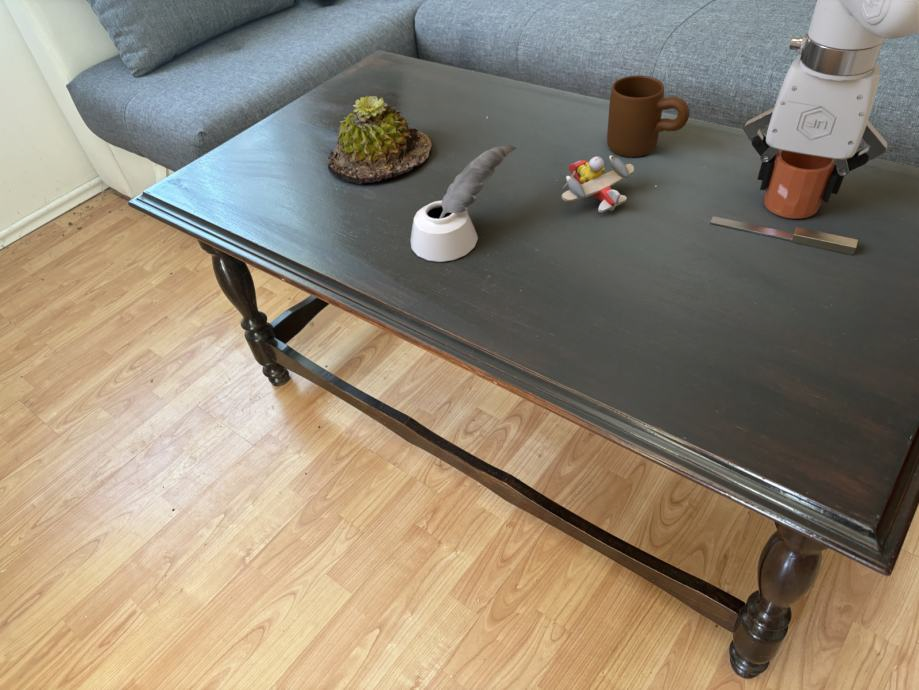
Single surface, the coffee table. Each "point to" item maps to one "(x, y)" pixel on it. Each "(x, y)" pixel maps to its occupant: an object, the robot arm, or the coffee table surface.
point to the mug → (640, 115)
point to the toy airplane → (597, 182)
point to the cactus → (376, 144)
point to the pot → (797, 184)
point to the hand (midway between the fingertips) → (795, 189)
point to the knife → (795, 236)
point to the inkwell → (454, 212)
